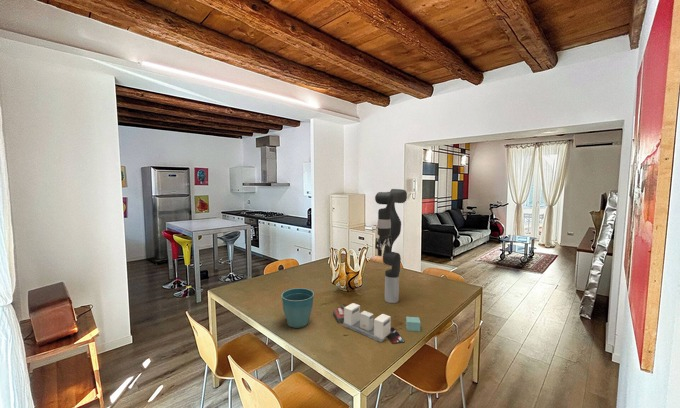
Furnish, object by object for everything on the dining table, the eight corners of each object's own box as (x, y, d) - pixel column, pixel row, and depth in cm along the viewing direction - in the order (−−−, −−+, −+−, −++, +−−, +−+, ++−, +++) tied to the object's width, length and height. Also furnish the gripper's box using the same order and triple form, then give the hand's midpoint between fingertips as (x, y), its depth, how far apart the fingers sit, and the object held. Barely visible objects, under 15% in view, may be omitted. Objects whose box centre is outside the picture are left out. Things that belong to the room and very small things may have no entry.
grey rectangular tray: (353, 319, 167) (353, 316, 167) (391, 334, 151) (391, 331, 151) (342, 325, 160) (342, 323, 159) (381, 342, 143) (381, 339, 143)
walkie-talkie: (352, 322, 164) (343, 306, 183) (352, 315, 163) (343, 300, 182) (338, 325, 161) (330, 308, 181) (338, 317, 161) (330, 301, 180)
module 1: (352, 317, 166) (352, 302, 165) (359, 320, 163) (359, 305, 162) (343, 323, 160) (344, 307, 159) (351, 326, 157) (351, 310, 156)
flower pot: (299, 312, 176) (298, 285, 174) (320, 321, 164) (320, 293, 163) (275, 323, 162) (274, 294, 160) (297, 335, 150) (296, 303, 149)
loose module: (364, 324, 159) (364, 310, 158) (373, 328, 155) (373, 314, 154) (359, 327, 156) (359, 313, 155) (369, 331, 152) (369, 316, 151)
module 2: (382, 329, 153) (382, 313, 153) (390, 333, 150) (390, 316, 149) (373, 335, 147) (374, 319, 147) (382, 339, 144) (382, 322, 143)
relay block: (405, 325, 161) (418, 326, 160) (407, 330, 155) (420, 331, 154) (406, 316, 160) (418, 317, 160) (407, 321, 155) (420, 322, 154)
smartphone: (393, 327, 158) (405, 342, 143) (393, 328, 158) (405, 343, 144) (381, 328, 156) (392, 343, 142) (381, 329, 157) (392, 345, 142)
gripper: (385, 224, 172) (384, 250, 174) (371, 227, 162) (371, 255, 163) (396, 225, 168) (395, 253, 169) (383, 229, 157) (382, 258, 158)
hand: (383, 254), depth 166 cm, fingers open, 8 cm apart
